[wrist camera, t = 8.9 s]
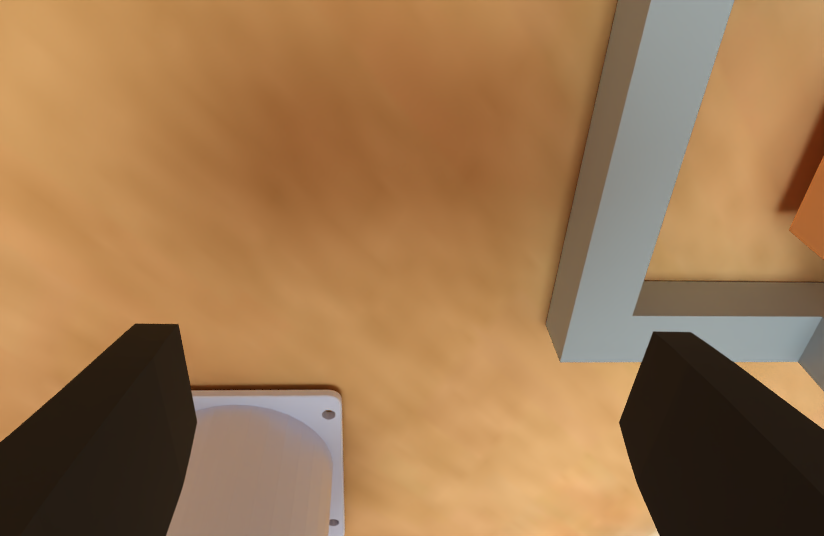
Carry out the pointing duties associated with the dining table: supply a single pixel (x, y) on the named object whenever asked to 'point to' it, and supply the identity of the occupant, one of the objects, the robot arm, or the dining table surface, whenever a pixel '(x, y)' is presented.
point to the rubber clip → (812, 215)
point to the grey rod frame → (660, 211)
